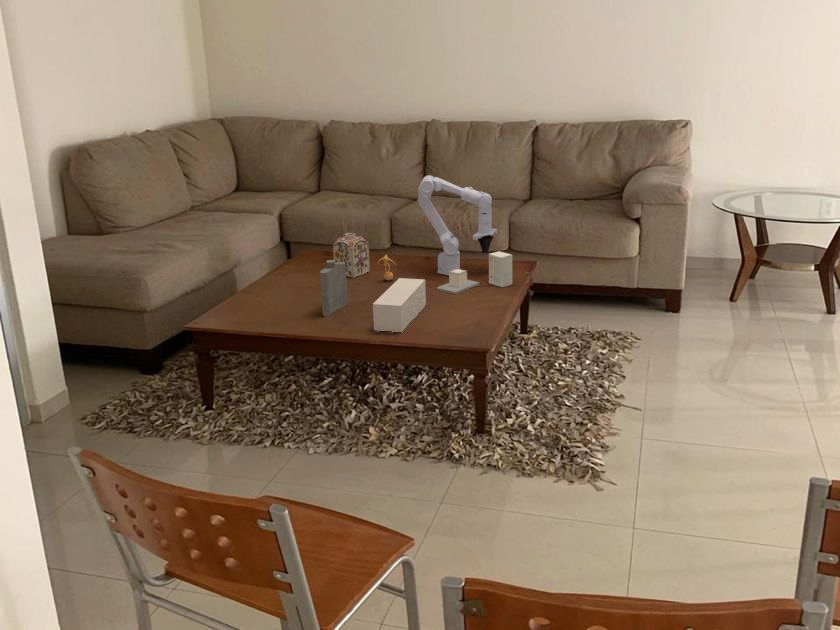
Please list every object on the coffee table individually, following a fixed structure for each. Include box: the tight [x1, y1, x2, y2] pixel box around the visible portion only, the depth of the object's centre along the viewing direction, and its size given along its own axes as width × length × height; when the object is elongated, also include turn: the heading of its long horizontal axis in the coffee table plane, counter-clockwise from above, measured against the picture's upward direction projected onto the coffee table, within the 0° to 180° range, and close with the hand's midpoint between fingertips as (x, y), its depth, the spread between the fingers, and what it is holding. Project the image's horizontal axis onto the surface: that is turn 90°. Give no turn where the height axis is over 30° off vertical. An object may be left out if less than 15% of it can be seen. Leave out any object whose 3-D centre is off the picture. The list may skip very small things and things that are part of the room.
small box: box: [488, 250, 513, 288], centre depth 370 cm, size 8×6×13 cm
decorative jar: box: [332, 232, 371, 279], centre depth 391 cm, size 12×12×18 cm
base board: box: [436, 279, 480, 295], centre depth 370 cm, size 10×16×1 cm, turn 138°
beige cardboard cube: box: [448, 268, 468, 288], centre depth 369 cm, size 5×5×6 cm
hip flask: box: [319, 259, 349, 316], centre depth 345 cm, size 16×4×20 cm, turn 154°
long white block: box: [372, 277, 427, 333], centre depth 335 cm, size 32×11×11 cm, turn 164°
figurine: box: [377, 254, 397, 281], centre depth 379 cm, size 8×6×12 cm
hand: (485, 252), depth 384 cm, fingers closed
